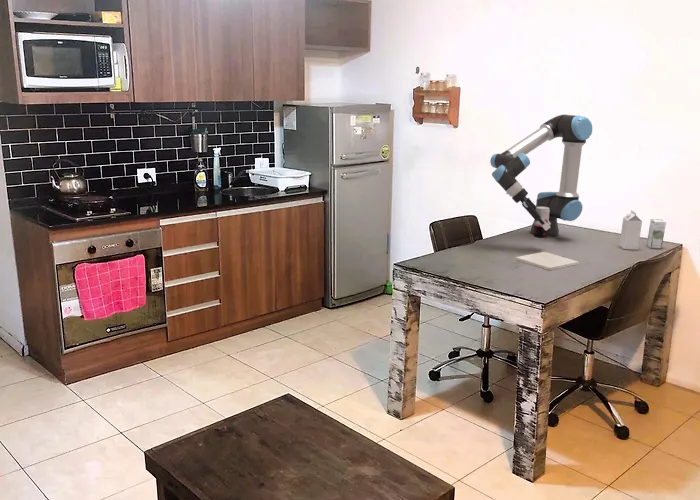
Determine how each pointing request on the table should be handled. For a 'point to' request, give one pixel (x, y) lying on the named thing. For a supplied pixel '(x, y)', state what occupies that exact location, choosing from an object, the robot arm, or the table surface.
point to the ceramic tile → (547, 260)
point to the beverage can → (538, 229)
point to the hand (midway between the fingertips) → (548, 227)
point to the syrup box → (656, 233)
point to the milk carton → (630, 231)
